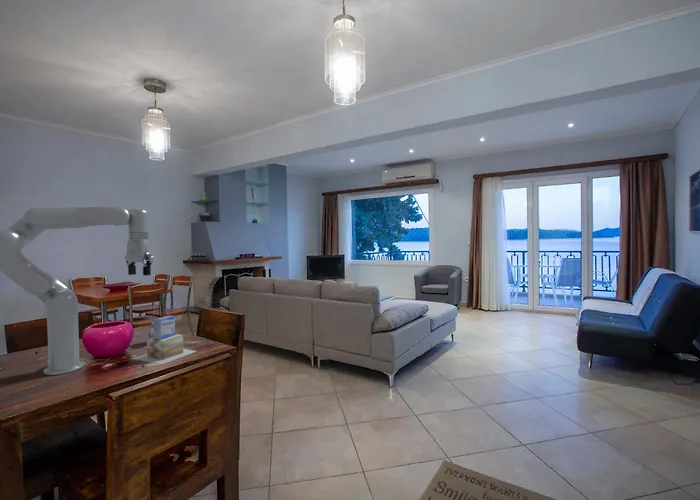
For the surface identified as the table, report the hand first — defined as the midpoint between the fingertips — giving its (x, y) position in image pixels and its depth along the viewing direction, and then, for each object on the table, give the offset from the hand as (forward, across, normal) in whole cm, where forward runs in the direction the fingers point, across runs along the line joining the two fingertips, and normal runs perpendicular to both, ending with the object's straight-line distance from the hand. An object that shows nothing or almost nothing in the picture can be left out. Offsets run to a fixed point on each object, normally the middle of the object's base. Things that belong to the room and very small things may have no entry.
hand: (139, 274), depth 155 cm
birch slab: (+31, +13, +2) cm, 34 cm away
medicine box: (+28, +13, +2) cm, 30 cm away
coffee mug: (+36, -10, +17) cm, 41 cm away
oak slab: (+35, +13, +2) cm, 38 cm away
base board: (+36, +13, +2) cm, 39 cm away
